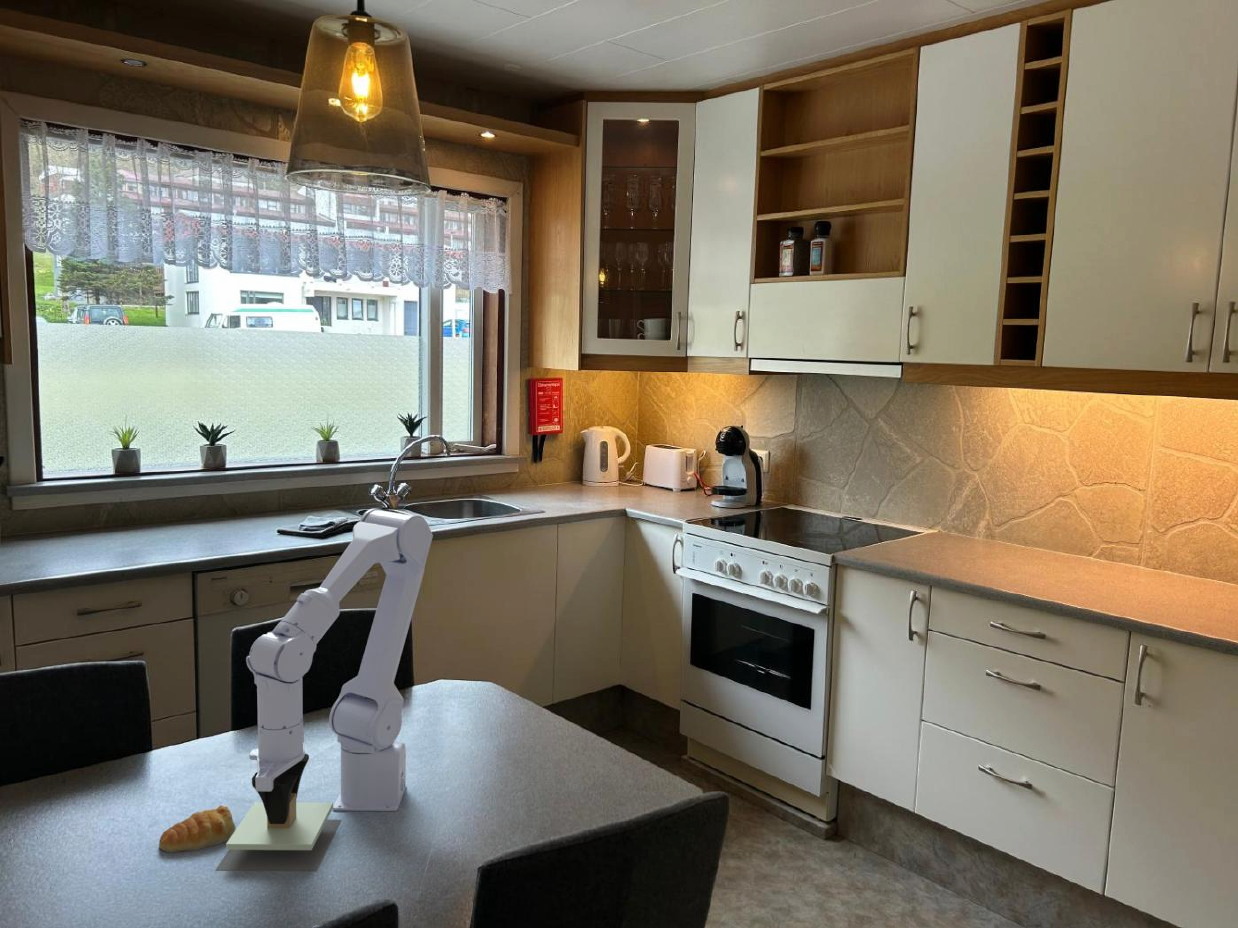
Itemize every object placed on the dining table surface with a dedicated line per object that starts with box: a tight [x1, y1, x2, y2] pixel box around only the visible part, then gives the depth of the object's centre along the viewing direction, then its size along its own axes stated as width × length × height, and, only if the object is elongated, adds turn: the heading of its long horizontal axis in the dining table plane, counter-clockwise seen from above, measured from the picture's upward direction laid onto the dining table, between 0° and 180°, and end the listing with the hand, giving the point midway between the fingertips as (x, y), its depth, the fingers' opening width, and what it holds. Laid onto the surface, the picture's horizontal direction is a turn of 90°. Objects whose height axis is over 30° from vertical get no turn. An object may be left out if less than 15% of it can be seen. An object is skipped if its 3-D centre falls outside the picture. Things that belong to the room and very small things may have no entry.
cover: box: [225, 793, 334, 851], centre depth 125 cm, size 11×11×4 cm
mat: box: [214, 818, 342, 872], centre depth 126 cm, size 13×13×1 cm
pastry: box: [158, 805, 237, 853], centre depth 126 cm, size 9×7×4 cm
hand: (281, 815), depth 125 cm, fingers closed on cover, 3 cm apart
